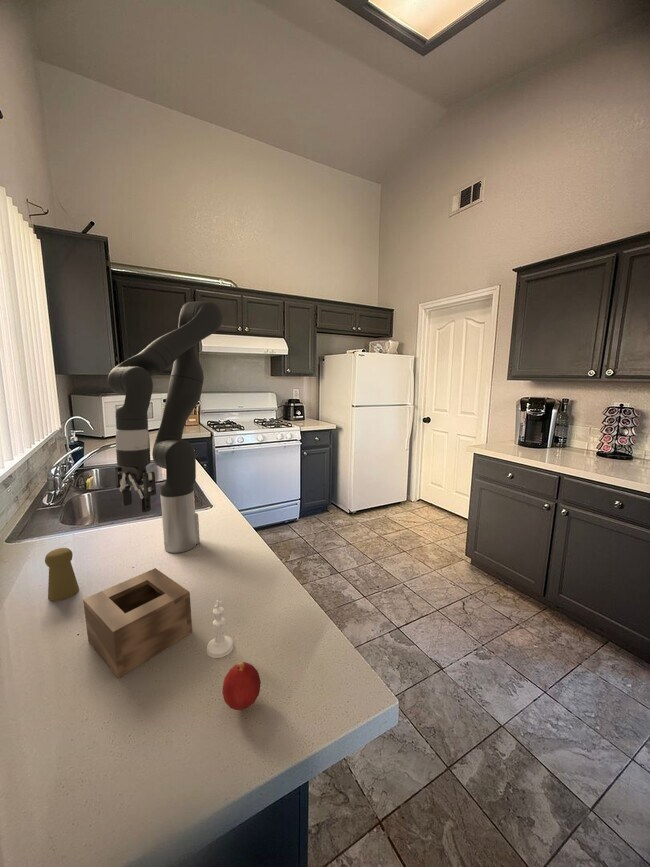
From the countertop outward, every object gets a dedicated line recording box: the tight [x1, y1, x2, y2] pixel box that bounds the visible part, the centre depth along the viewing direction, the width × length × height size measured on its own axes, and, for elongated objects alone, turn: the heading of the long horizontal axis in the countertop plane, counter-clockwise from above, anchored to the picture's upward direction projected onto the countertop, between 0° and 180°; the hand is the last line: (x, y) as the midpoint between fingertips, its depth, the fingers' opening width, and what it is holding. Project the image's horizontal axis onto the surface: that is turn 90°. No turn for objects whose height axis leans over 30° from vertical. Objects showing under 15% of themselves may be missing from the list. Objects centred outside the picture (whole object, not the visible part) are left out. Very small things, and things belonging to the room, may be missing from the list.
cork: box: [44, 547, 80, 602], centre depth 83 cm, size 6×6×11 cm
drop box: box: [82, 568, 193, 679], centre depth 69 cm, size 14×14×9 cm
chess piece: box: [206, 599, 234, 659], centre depth 66 cm, size 5×5×10 cm
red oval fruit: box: [222, 661, 262, 711], centre depth 54 cm, size 6×6×8 cm
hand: (136, 508), depth 90 cm, fingers open, 8 cm apart
